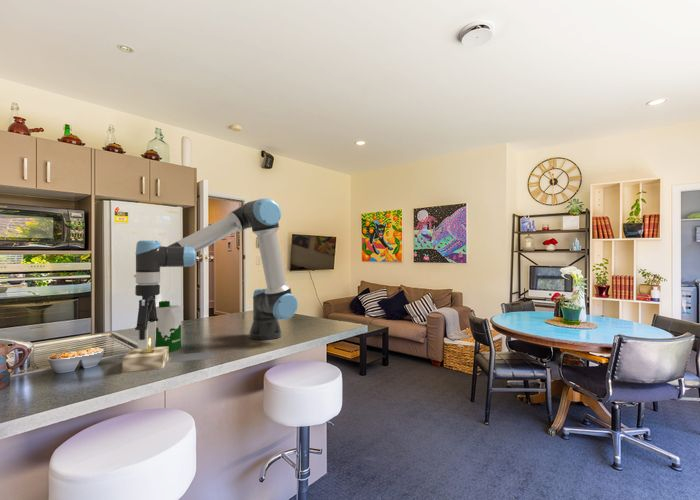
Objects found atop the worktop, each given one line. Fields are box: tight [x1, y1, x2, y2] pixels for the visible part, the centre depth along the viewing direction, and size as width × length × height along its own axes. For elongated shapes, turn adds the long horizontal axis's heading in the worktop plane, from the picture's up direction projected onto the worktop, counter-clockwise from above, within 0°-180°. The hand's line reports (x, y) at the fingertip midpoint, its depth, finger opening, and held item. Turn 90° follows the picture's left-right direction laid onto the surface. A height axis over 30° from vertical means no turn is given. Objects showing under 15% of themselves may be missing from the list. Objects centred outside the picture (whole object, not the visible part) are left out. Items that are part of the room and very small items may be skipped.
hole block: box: [121, 346, 170, 373], centre depth 125 cm, size 12×12×5 cm
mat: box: [169, 351, 213, 363], centre depth 135 cm, size 14×10×1 cm
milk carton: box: [154, 300, 184, 353], centre depth 145 cm, size 9×9×20 cm
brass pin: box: [142, 336, 153, 354], centre depth 125 cm, size 3×3×10 cm
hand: (147, 344), depth 125 cm, fingers open, 13 cm apart
